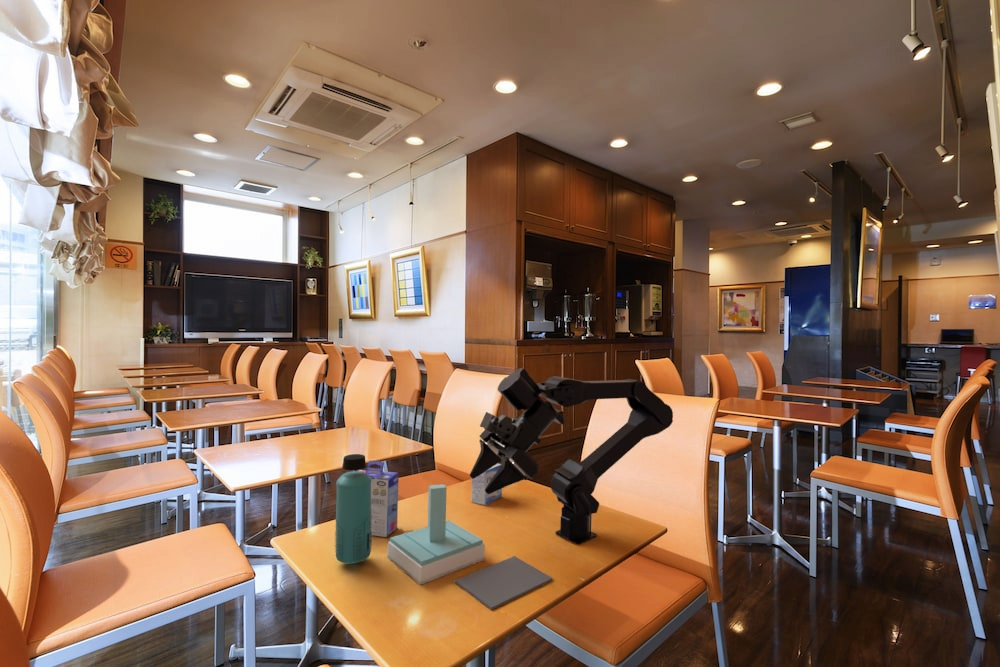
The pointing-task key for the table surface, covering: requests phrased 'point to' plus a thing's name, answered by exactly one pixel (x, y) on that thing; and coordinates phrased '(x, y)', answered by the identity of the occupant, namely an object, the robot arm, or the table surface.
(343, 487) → the beverage bottle
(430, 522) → the lid
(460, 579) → the mat
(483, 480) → the medicine box
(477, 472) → the robot arm
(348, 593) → the table surface
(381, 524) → the ink cartridge box
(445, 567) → the tub
